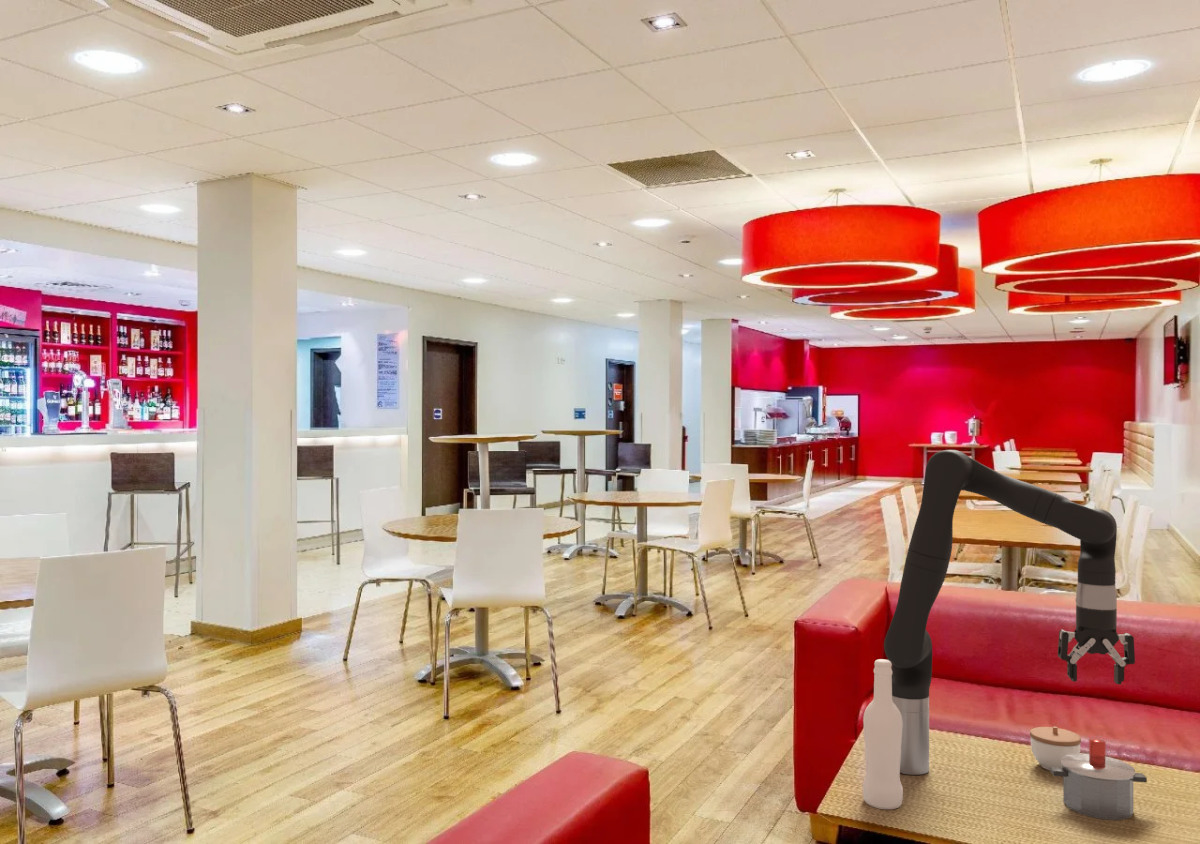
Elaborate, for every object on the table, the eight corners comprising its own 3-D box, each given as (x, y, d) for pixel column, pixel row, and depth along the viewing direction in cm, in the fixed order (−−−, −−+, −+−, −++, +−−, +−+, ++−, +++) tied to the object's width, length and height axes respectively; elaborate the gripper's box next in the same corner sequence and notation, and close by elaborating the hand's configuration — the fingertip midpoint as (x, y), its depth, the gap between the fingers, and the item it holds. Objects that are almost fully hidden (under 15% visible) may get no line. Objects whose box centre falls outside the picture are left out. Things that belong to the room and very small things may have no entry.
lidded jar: (1069, 759, 219) (1069, 720, 219) (1089, 776, 209) (1089, 735, 209) (1023, 758, 220) (1023, 719, 220) (1040, 774, 210) (1040, 733, 210)
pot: (1060, 815, 187) (1060, 776, 187) (1043, 792, 199) (1043, 755, 199) (1156, 823, 184) (1156, 783, 184) (1133, 799, 196) (1133, 761, 196)
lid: (1071, 782, 186) (1071, 749, 187) (1053, 759, 200) (1053, 728, 200) (1145, 788, 184) (1145, 754, 184) (1121, 764, 197) (1121, 732, 197)
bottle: (882, 813, 188) (882, 666, 188) (854, 799, 195) (854, 658, 195) (911, 806, 191) (911, 662, 192) (882, 792, 199) (883, 654, 199)
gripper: (1064, 606, 190) (1064, 684, 190) (1140, 609, 187) (1139, 689, 187) (1054, 599, 197) (1053, 675, 197) (1126, 603, 195) (1126, 679, 194)
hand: (1095, 682), depth 192 cm, fingers open, 8 cm apart
